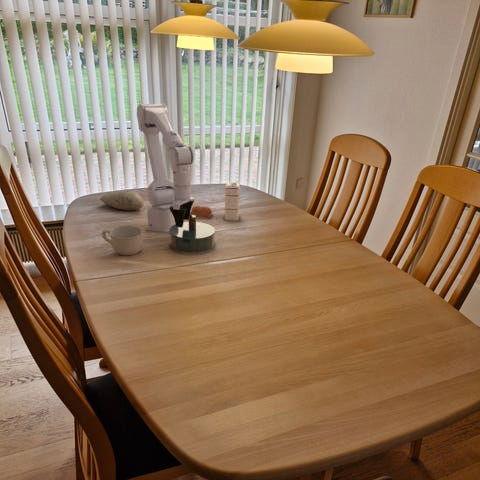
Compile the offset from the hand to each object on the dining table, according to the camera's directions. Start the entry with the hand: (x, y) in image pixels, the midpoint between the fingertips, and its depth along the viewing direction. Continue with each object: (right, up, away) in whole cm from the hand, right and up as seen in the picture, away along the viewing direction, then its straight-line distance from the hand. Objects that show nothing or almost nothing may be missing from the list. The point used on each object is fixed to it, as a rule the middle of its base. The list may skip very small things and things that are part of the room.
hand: (182, 223), depth 155 cm
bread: (+4, +10, +30) cm, 32 cm away
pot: (+3, -7, +4) cm, 9 cm away
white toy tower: (+17, +8, +30) cm, 35 cm away
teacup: (-20, -11, -3) cm, 23 cm away
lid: (+3, -3, +1) cm, 4 cm away
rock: (-30, +14, +35) cm, 48 cm away
